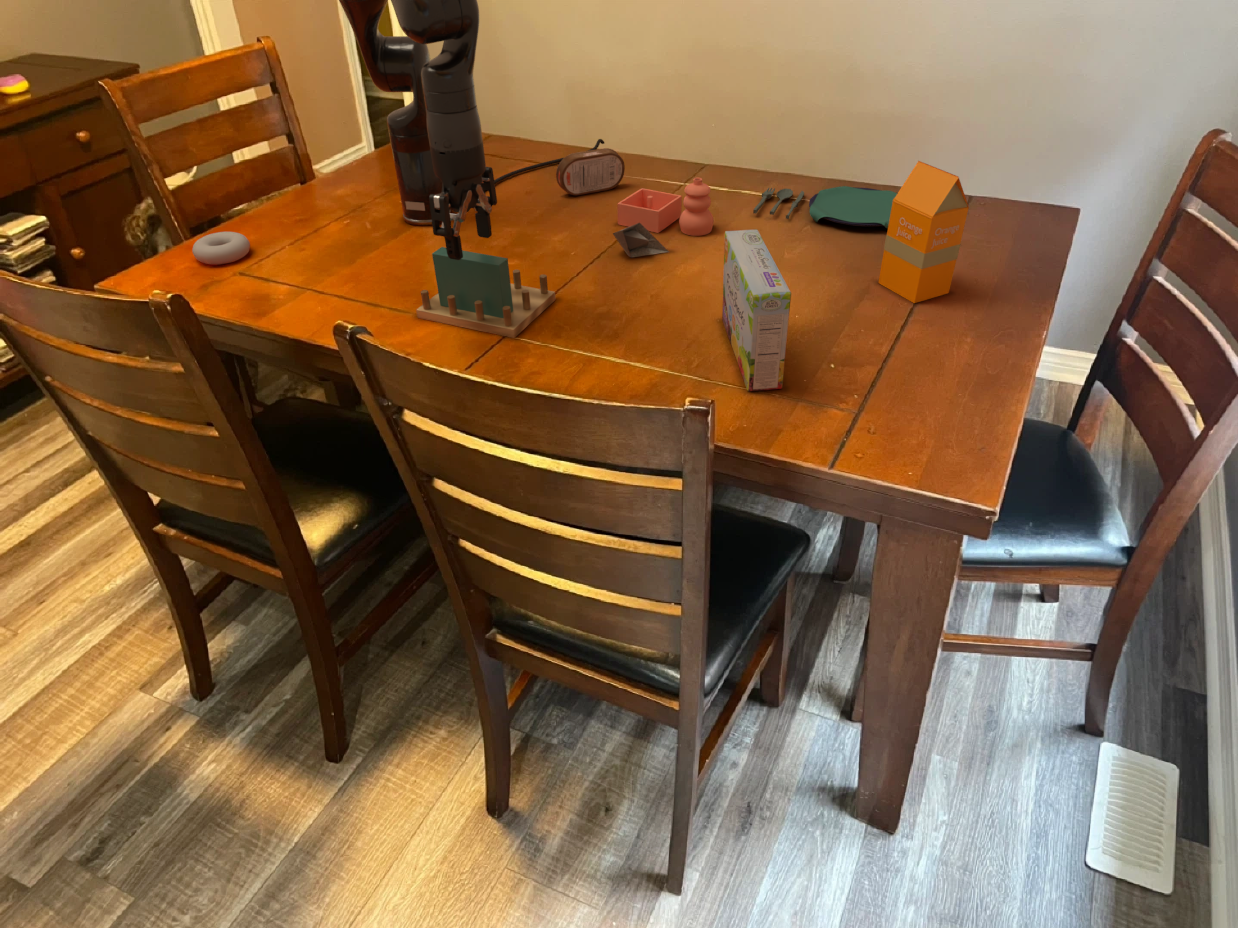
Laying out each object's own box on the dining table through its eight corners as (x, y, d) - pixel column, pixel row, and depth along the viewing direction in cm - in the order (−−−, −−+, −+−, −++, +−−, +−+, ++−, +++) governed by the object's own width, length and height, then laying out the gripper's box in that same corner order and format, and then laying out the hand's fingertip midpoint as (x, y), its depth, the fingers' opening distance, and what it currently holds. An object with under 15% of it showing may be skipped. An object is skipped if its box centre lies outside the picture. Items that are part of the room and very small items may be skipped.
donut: (184, 266, 156) (233, 269, 155) (178, 248, 154) (227, 251, 153) (215, 244, 164) (262, 246, 162) (209, 227, 162) (257, 229, 160)
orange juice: (913, 303, 139) (939, 181, 127) (877, 282, 145) (898, 164, 133) (949, 292, 141) (978, 172, 129) (912, 272, 148) (936, 155, 136)
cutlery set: (904, 239, 159) (906, 228, 158) (747, 220, 168) (747, 208, 167) (916, 202, 174) (918, 191, 172) (770, 186, 183) (771, 175, 181)
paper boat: (650, 232, 161) (685, 233, 154) (642, 266, 162) (676, 268, 155) (603, 211, 153) (638, 211, 146) (595, 247, 153) (629, 248, 147)
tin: (620, 183, 186) (619, 143, 181) (627, 187, 184) (626, 148, 179) (556, 195, 181) (554, 155, 176) (562, 200, 179) (559, 159, 174)
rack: (463, 282, 148) (460, 258, 146) (555, 299, 142) (554, 274, 140) (417, 317, 138) (412, 292, 136) (514, 338, 132) (511, 311, 130)
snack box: (718, 320, 135) (723, 229, 126) (753, 318, 136) (760, 227, 127) (745, 393, 119) (753, 293, 110) (784, 390, 119) (796, 291, 110)
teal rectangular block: (449, 298, 140) (441, 246, 135) (513, 311, 136) (507, 258, 131) (440, 305, 138) (431, 253, 133) (504, 318, 134) (498, 265, 129)
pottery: (617, 224, 168) (616, 174, 162) (641, 208, 174) (641, 159, 168) (699, 241, 160) (702, 190, 154) (721, 224, 167) (724, 174, 161)
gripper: (460, 122, 128) (473, 226, 138) (404, 152, 117) (424, 262, 127) (503, 127, 125) (514, 233, 135) (451, 158, 115) (467, 270, 125)
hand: (470, 247), depth 131 cm, fingers open, 8 cm apart
